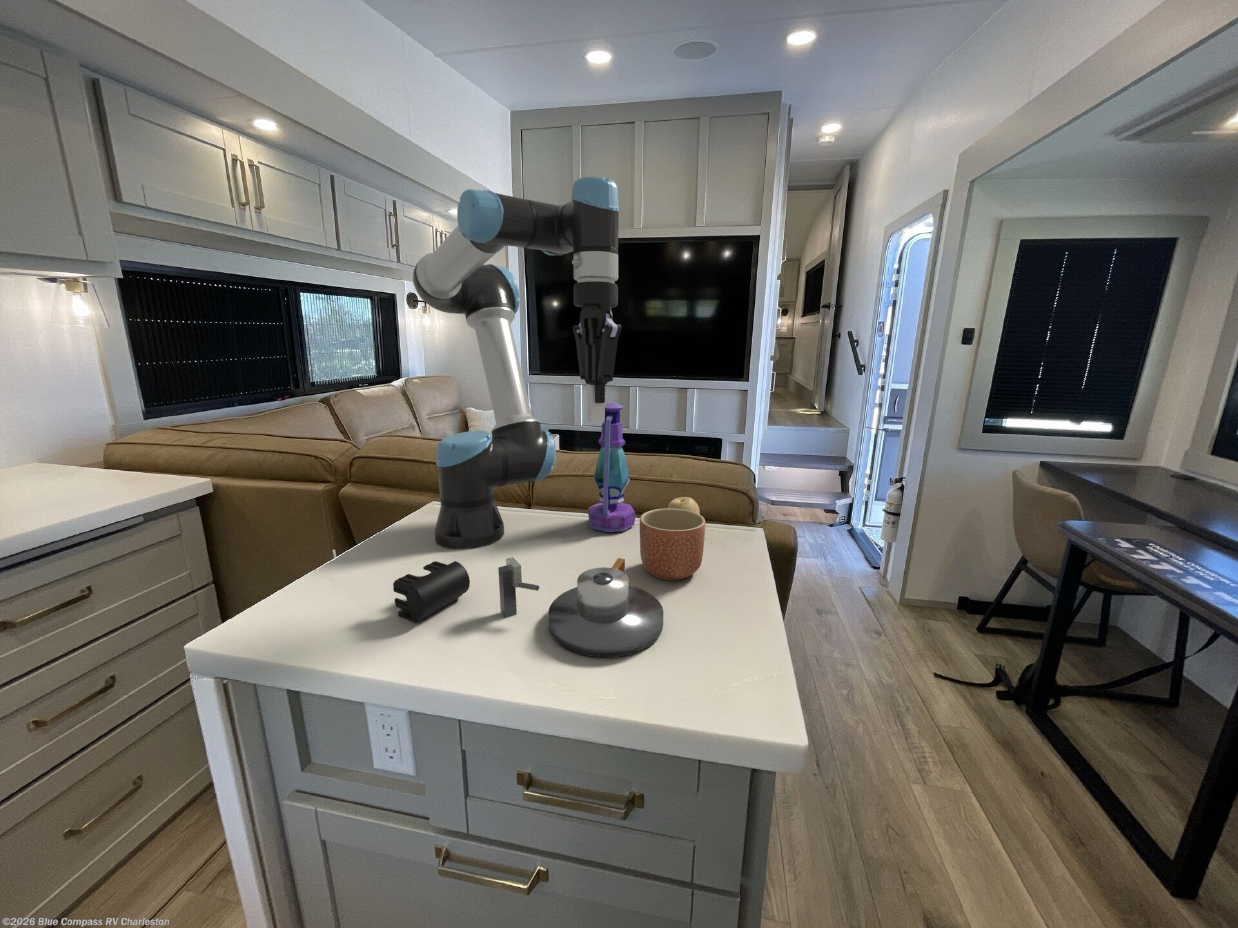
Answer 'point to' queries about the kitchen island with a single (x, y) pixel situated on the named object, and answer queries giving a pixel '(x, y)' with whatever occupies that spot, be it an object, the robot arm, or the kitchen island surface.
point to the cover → (603, 595)
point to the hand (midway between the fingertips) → (596, 420)
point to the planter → (671, 542)
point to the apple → (684, 504)
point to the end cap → (430, 589)
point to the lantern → (611, 477)
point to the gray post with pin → (511, 586)
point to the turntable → (607, 624)
